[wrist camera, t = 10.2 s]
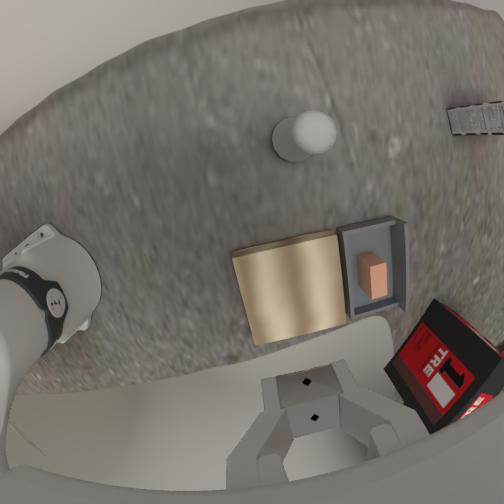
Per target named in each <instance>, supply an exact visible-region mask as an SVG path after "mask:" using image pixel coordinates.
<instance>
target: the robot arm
mask: <svg viewBox="0 0 504 504" xmlns="http://www.w3.org/2000/svg"><path fill="white" fill-rule="evenodd" d="M42 233H43V235H44V236H43V235H42ZM100 295H101V282H100V277H99V273H98V270H97V268H96V265H95V263H94V261H93V260H92V258H91V257H90V255H89V254H88V252H87V251H86V250H85V249H84V248H83V247H82V246H81V245H80V244H78V243H77V242H76V241H74V240H72V239H70V238H68V237H66V236H63V235H62V234H60V233H59V232H58V231H57V230H56V229H55V228H54V227H53V226H52V225H51V224H49V223H46V224H44V225H43V226H41V227H40V228H39V229H38V230H36V231H35V232H34V233H33V234H31V235H30V236H29V237H28V238H26V239H25V240H24V241H23V242H21V243H20V244H19V245H18V246H17V247H15V248H14V249H13V250H12V251H11V252H10V253H8V254H7V255H6V256H5V257H4V258H3V270H1V271H0V504H504V391H503V392H501V393H500V394H498V395H497V396H496V397H494V398H493V399H491V400H490V401H488V402H487V403H485V404H484V405H482V406H481V407H479V408H477V409H476V410H474V411H473V412H471V413H469V414H468V415H466V416H464V417H463V418H461V419H459V420H457V421H456V422H454V423H452V424H450V425H448V426H447V427H445V428H443V429H441V430H439V431H437V432H435V433H433V434H431V435H430V434H429V432H428V430H427V429H426V427H425V425H424V424H423V422H422V421H421V419H420V417H419V416H418V414H417V412H416V411H415V410H413V409H411V408H409V407H406V406H404V405H402V404H399V403H397V402H395V401H393V400H390V399H388V398H386V397H384V396H382V395H379V394H377V393H375V392H373V391H370V390H369V389H366V388H364V387H361V388H359V387H358V385H357V383H356V381H355V379H354V377H353V375H352V373H351V371H350V369H349V367H348V365H347V363H346V361H345V360H344V359H342V360H339V361H335V362H332V363H330V364H326V365H322V366H319V367H314V368H311V369H307V370H303V371H299V372H294V373H289V374H284V375H280V376H276V377H271V378H266V379H262V380H261V385H262V393H263V403H264V412H262V413H260V414H259V415H258V417H257V418H256V420H255V421H254V423H253V424H252V425H251V427H250V428H249V430H248V431H247V432H246V434H245V435H244V437H243V438H242V439H241V441H240V442H239V443H238V445H237V446H236V447H235V449H234V450H233V452H232V453H231V454H230V455H229V457H228V458H227V470H226V490H213V491H164V490H163V491H162V490H147V489H135V488H127V487H119V486H112V485H105V484H99V483H94V482H89V481H84V480H79V479H74V478H70V477H66V476H62V475H58V474H54V473H51V472H47V471H44V470H41V469H38V468H35V467H32V466H28V465H25V464H21V465H18V466H16V467H14V468H12V469H10V468H9V464H8V460H7V454H6V432H7V425H8V419H9V414H10V409H11V406H12V402H13V399H14V396H15V394H16V391H17V389H18V387H19V385H20V383H21V382H22V380H23V379H24V377H25V376H26V374H27V373H28V372H29V370H30V369H31V367H32V366H33V365H34V363H35V362H36V361H37V360H38V358H39V357H40V356H43V355H45V354H46V353H47V352H48V351H49V350H51V349H52V348H53V347H54V345H55V344H56V342H57V343H59V342H60V343H64V342H66V341H67V340H68V339H69V338H70V337H71V336H72V335H73V334H74V333H75V332H76V331H77V330H86V329H87V328H88V327H89V326H90V323H91V315H92V313H93V311H94V310H95V308H96V307H97V305H98V303H99V300H100ZM336 427H341V428H342V429H344V430H345V431H346V432H347V433H349V434H350V435H352V436H353V437H355V438H356V439H357V440H359V441H360V442H362V443H363V444H364V445H366V446H368V454H367V460H366V462H363V463H360V464H357V465H354V466H351V467H347V468H344V469H340V470H337V471H334V472H330V473H326V474H322V475H318V476H314V477H309V478H305V479H300V480H295V481H290V482H289V480H288V477H287V474H286V472H285V469H284V466H283V461H284V459H285V456H286V454H287V452H288V450H289V448H290V446H291V444H292V442H293V440H294V439H293V438H297V437H301V436H305V435H308V434H312V433H316V432H320V431H324V430H328V429H332V428H336Z"/></svg>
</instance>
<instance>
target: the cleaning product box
mask: <svg viewBox="0 0 504 504" xmlns="http://www.w3.org/2000/svg"><path fill="white" fill-rule="evenodd" d="M384 370H385V372H386V373H387V375H388V376H389V378H390V380H391V381H392V383H393V385H394V386H395V388H396V389H397V391H398V393H399V394H400V396H401V397H402V399H403V401H404V402H405V404H406V406H407V407H409V408H411V409H413V410H415V411H416V412H417V414H418V416H419V417H420V419H421V421H422V422H423V424H424V425H425V427H426V429H427V430H428V432H429V434H430V435H431V434H433V433H435V432H437V431H439V430H441V429H443V428H445V427H447V426H448V425H450V424H452V423H454V422H456V421H457V420H459V419H461V418H463V417H464V416H466V415H468V414H469V413H471V412H473V411H474V410H476V409H477V408H479V407H481V406H482V405H484V404H485V403H487V402H488V401H490V400H491V399H493V398H494V397H496V396H497V395H498V394H499V393H500V391H501V390H502V389H503V387H504V354H503V353H502V352H501V351H500V350H499V349H498V348H496V347H495V346H494V345H493V344H492V343H491V342H490V341H489V340H488V339H486V338H485V337H484V336H483V335H482V334H481V333H480V332H478V331H477V330H476V329H475V328H474V327H473V326H471V325H470V324H469V323H468V322H467V321H466V320H464V319H463V318H462V317H461V316H460V315H458V314H457V313H456V312H454V311H453V310H451V309H449V308H448V307H446V306H445V305H443V304H442V303H440V302H438V301H437V300H435V299H433V301H432V302H431V304H430V305H429V307H428V308H427V310H426V312H425V313H424V315H423V316H422V318H421V319H420V321H419V322H418V324H417V325H416V326H415V328H414V329H413V331H412V332H411V334H410V335H409V336H408V338H407V339H406V341H405V342H404V343H403V345H402V346H401V347H400V349H399V350H398V351H397V353H396V354H395V355H394V356H393V358H392V359H391V361H390V362H389V363H388V364H387V366H386V367H385V368H384Z"/></svg>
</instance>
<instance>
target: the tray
mask: <svg viewBox="0 0 504 504" xmlns="http://www.w3.org/2000/svg"><path fill="white" fill-rule="evenodd" d="M337 234H338V242H339V249H340V258H341V266H342V275H343V285H344V295H345V307H346V313H347V315H348V316H349V318H350V319H351V320H353V319H356V318H360V317H363V316H366V315H370V314H373V313H376V312H379V311H382V310H386V309H389V308H392V307H395V306H399V307H400V308H401V309H402V310H403V311H404V312H405V313H406V312H409V286H410V266H409V235H408V223H407V222H404V221H402V220H400V219H397V218H395V217H392V216H388V217H383V218H379V219H374V220H370V221H365V222H361V223H356V224H352V225H347V226H343V227H338V228H337ZM370 251H372V252H373V253H374V254H376V255H377V256H378V257H380V258H381V259H382V260H384V261H385V262H386V267H387V295H386V296H382V297H379V298H376V299H371V298H370V297H369V296H368V295H367V294H366V293H365V291H364V290H363V289H362V288H361V287H360V286H359V279H358V268H357V257H356V255H359V254H363V253H367V252H370Z"/></svg>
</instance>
